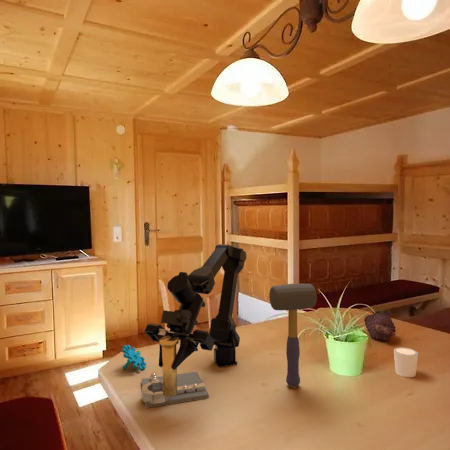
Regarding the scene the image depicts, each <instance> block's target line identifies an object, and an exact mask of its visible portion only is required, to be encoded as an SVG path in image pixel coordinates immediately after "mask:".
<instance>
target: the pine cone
mask: <svg viewBox="0 0 450 450" xmlns="http://www.w3.org/2000/svg"><path fill="white" fill-rule="evenodd" d="M363 321H364V326H365V328H366V331H367V333H369V335H370V336H372V338H374V339H377V340H381V341H387V340H389V339H391V338H392V337H395V336H396V335H397V334H396V332H397V330H396V326H395V323H394V321H393V319H392V318H391V317H390V315H387V314H384V313H382V312H375V313H374V312H373V313H372V314H367V315H366V316H365V317H364V320H363Z"/></svg>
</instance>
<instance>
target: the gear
mask: <svg viewBox="0 0 450 450" xmlns="http://www.w3.org/2000/svg"><path fill="white" fill-rule="evenodd" d="M136 350H137V349H136V348H135V347H134V346H133V347H132V346H131V345H130V344H127V345H126V344H125V345H123V346H122V349H121V352H122V353H123V354H122V356H123V358H125V359H127V360H126V363H125V364H124V365H123V366H122V369H123V370H126V368H128V367H129V365H130V364H132V365H131V366H132V368H134V369H136V368H137V370H139V371H142V370H146V368H147V367H146V365H147V362H146V361H145V357H144V356H142V353H141V350H140V349H138V350H137V351H136Z"/></svg>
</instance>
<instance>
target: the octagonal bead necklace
mask: <svg viewBox="0 0 450 450" xmlns="http://www.w3.org/2000/svg"><path fill="white" fill-rule="evenodd" d="M158 377H159V376H158V375H157V372H151V373H150V377H149V378H150V380H151V382H148V383H147V384H145V385H144V386H142V385H141V396H142V401H143V402H144V403H145V402H148V403H151V404H156V403H163V402H166V401H168V400H169V399H170V398H172V397H173V396H171V397H167V396H164V395H163V380H159V379H158ZM204 390H207V388H206V384H205V383H204V382H203V383H199V384H198V383H193V384H192V385H182V386H179V387H177V394H176V395H178V394H184V393H191V392H195V391H204ZM155 391H159V392H155Z"/></svg>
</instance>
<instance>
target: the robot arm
mask: <svg viewBox="0 0 450 450" xmlns="http://www.w3.org/2000/svg"><path fill="white" fill-rule="evenodd" d="M246 260H247V252H246V251H245V250H244V248H241V247H235V246H232V245H230V244H224V243H223V244H222V243H221V244H216V246H215V248H214V250H213V252H212V253H211V254H210V256H209V257H208V258H207V260H206V261H205V262H204V263H203V264H202V266H200V267H199V268H196V269H194V270H193V271H192V272H190V273H189V274H188V272H186V271H179V273H178V274H177V275H175V276H173V277H172V278H171V279H170V280H168V282H167V286H166V287H167V290H168V291H169V293H170V294H171V296H172V297H173V298H174V300H176V302H177V303H178V304H179V307H178V309H175V310H173V311H172V310H166V309H165V310H164V309H163V310H162V314H161V319H160V322H159V323H160V324H159V323H147V325H146V326H145V327H144V330H143V332H144V333H145V335H146V336H148V338H149V339H150V340H151V341H153V342H157V343H158V345H159V353H158V354H159V355H158V356H159V357H158V367H160V368H162V346H161V345H160V341H159V339H160V338H162V337H164V336H176V337H178V338H179V347H178V349H177V351H176V352H177V355H176V357H175V360H174V362H173V366H172V369H173V370H175V369H176V368H177V369H178V367H180V366H181V365H182V363H183V362H184V361H185V360H186V359H187V358H188V357H189V356H191V355H192V354H194V353H195V352H198V351H199V349H198V347H200V348H201V350H204V351H213V361H214V362H215V363H214V364H216V365H217V367H219V368H222V367H230V366H237V365H238V362H237V361H236V359H237V358H236V357H237V356H236V348H238V347H240V342H241V341H240V339H241V337H240V335H239V333H238V332H237V329H236V328H237V327H236V325H237V324H236V322H235V319H234V317H233V313H234V312H233V311H234V306H235V299H236V290H237V285H238V279H239V278H238V277H239V274H240V272H241V271H242V270H243V269H244V268H245V263H246ZM221 268H222V270H223V272H224V273H223V279H222V286H221V293H220V300H219V305H218V312H217V314H216V316H215V317H212V319H211V320H210V328H209V331H208V330H199V329H195V330H194V328H195V326H198V324H199V321H198V320H197V319H198V317H199V314H200V311H201V309H202V308H205V307H206V303H205V300H204V297H202V295H209V294H211V292H212V291H213V289H214V287H215V285H216V282H215V278H216V275H217V274H218V273H219V271H220V270H221ZM161 324H166V328H167V329H165V328H164V327H163V326H162V325H161ZM214 346H215V348H214Z"/></svg>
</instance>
